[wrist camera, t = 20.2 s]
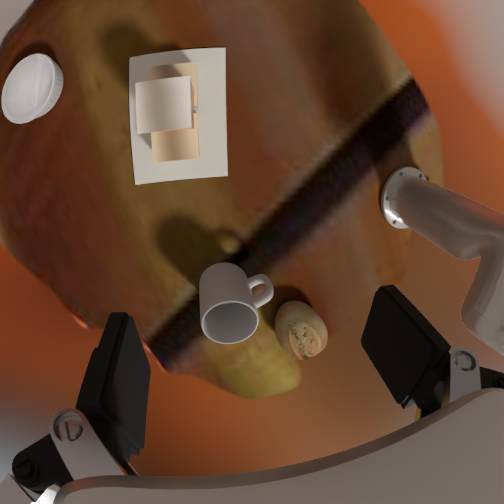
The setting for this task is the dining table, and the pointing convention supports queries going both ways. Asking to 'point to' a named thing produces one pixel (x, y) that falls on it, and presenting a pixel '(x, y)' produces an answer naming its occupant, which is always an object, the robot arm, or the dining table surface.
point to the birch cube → (164, 104)
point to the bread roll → (300, 330)
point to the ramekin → (31, 88)
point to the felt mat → (208, 110)
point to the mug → (230, 302)
